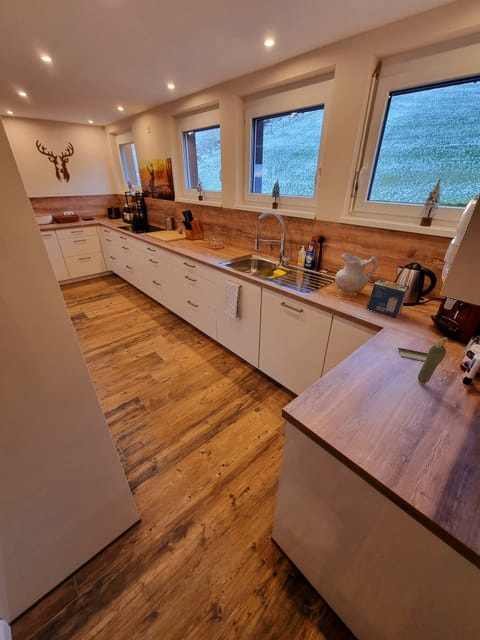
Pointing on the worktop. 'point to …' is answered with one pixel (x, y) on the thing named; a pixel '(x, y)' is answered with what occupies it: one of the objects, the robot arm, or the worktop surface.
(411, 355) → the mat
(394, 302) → the protein box
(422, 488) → the worktop surface
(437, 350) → the vegetable
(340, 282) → the ceramic pitcher
